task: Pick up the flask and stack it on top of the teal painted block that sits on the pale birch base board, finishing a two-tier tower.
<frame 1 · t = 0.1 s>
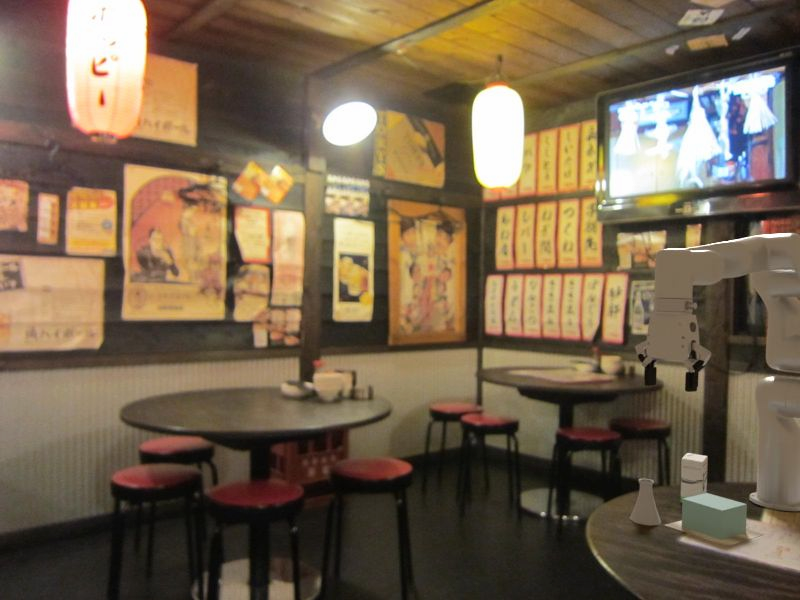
hand: (670, 388, 139), 31 cm above the table, tool pointing down, fingers open, 9 cm apart
ink box: (693, 505, 161), on the table
flask: (645, 526, 145), on the table
teal block: (713, 529, 140), point 1 cm above the table, touching base board
base board: (713, 535, 140), on the table
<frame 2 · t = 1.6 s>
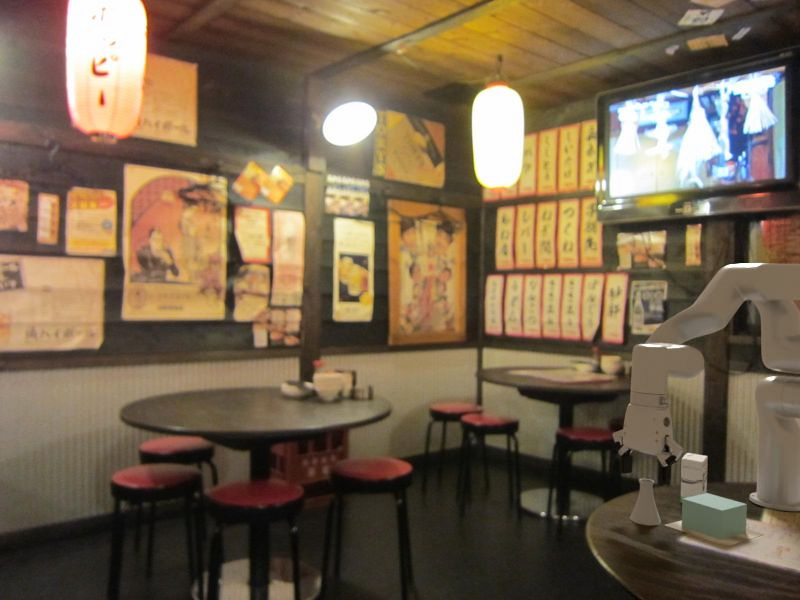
hand: (644, 478, 144), 10 cm above the table, tool pointing down, fingers open, 9 cm apart
nothing on the table moved.
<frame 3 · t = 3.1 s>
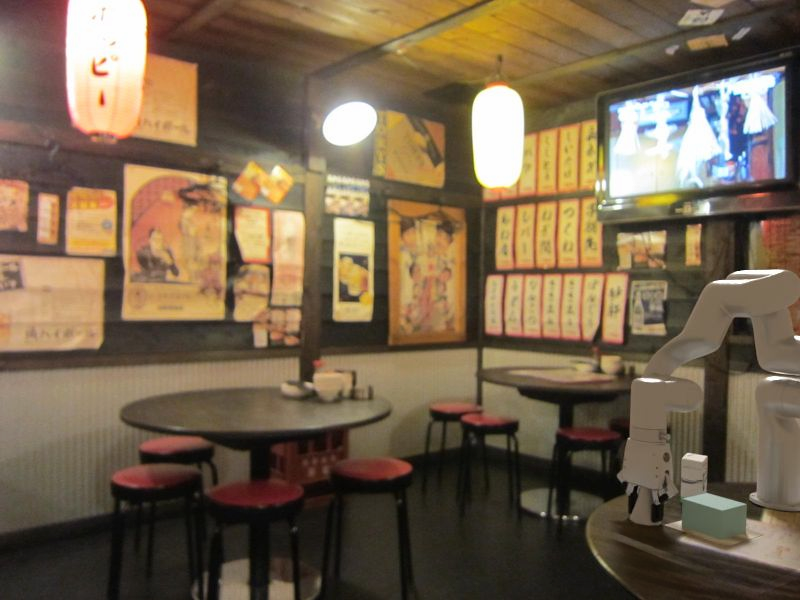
hand: (645, 516, 145), 2 cm above the table, tool pointing down, fingers closed on flask, 5 cm apart
flask: (645, 526, 145), on the table, touching gripper
everything else where it was.
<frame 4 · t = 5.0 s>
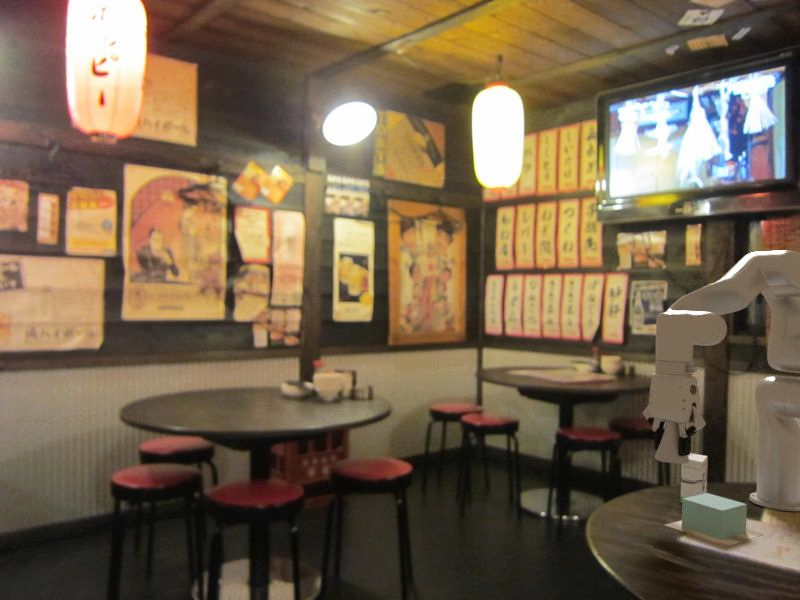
hand: (672, 451, 143), 17 cm above the table, tool pointing down, fingers closed on flask, 5 cm apart
flask: (671, 461, 143), point 15 cm above the table, touching gripper
everything else where it was.
when the fingers open (10 cm above the table, at t = 7.3 s): flask stays where it is, resting on teal block.
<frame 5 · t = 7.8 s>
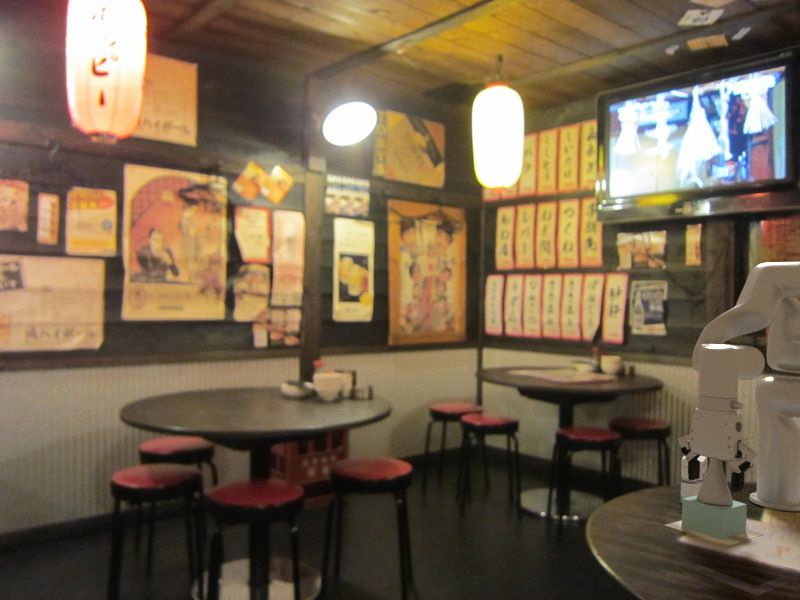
hand: (714, 484, 140), 11 cm above the table, tool pointing down, fingers open, 9 cm apart
flask: (714, 502, 140), point 7 cm above the table, touching teal block
teal block: (713, 529, 140), point 1 cm above the table, touching base board, flask
everything else where it was.
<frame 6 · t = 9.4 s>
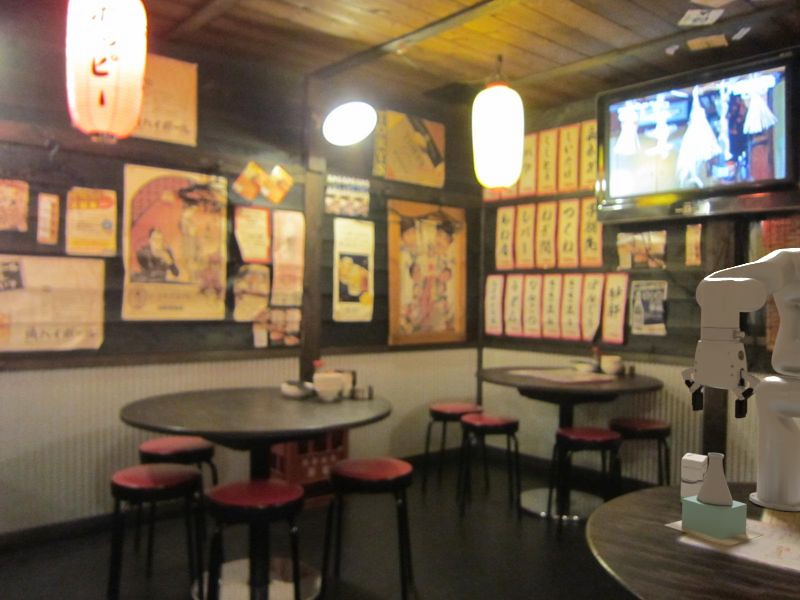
hand: (718, 414, 143), 25 cm above the table, tool pointing down, fingers open, 9 cm apart
nothing on the table moved.
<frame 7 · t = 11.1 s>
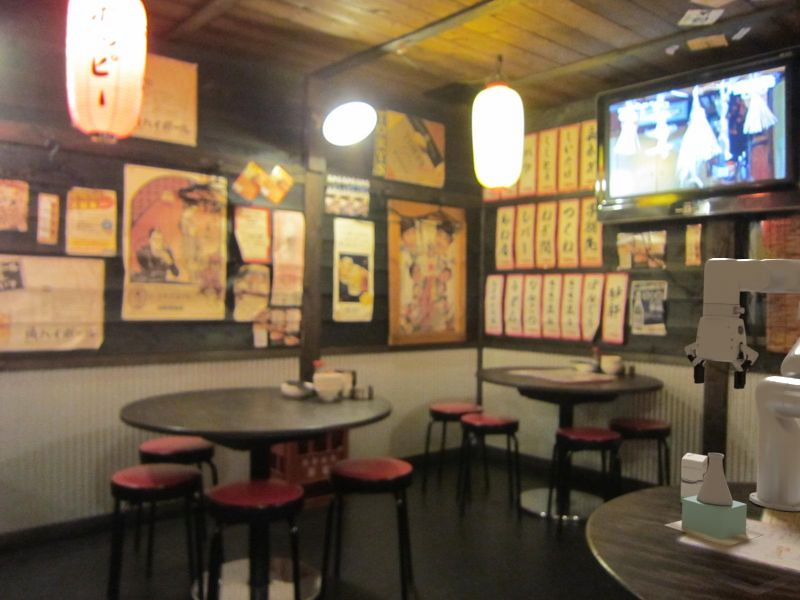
hand: (718, 385, 152), 30 cm above the table, tool pointing down, fingers open, 9 cm apart
nothing on the table moved.
at the end: flask 0.2 cm off-centre on the teal block, point 5.8 cm above the teal block's base; flask tilted 0°; the gripper is holding nothing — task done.
